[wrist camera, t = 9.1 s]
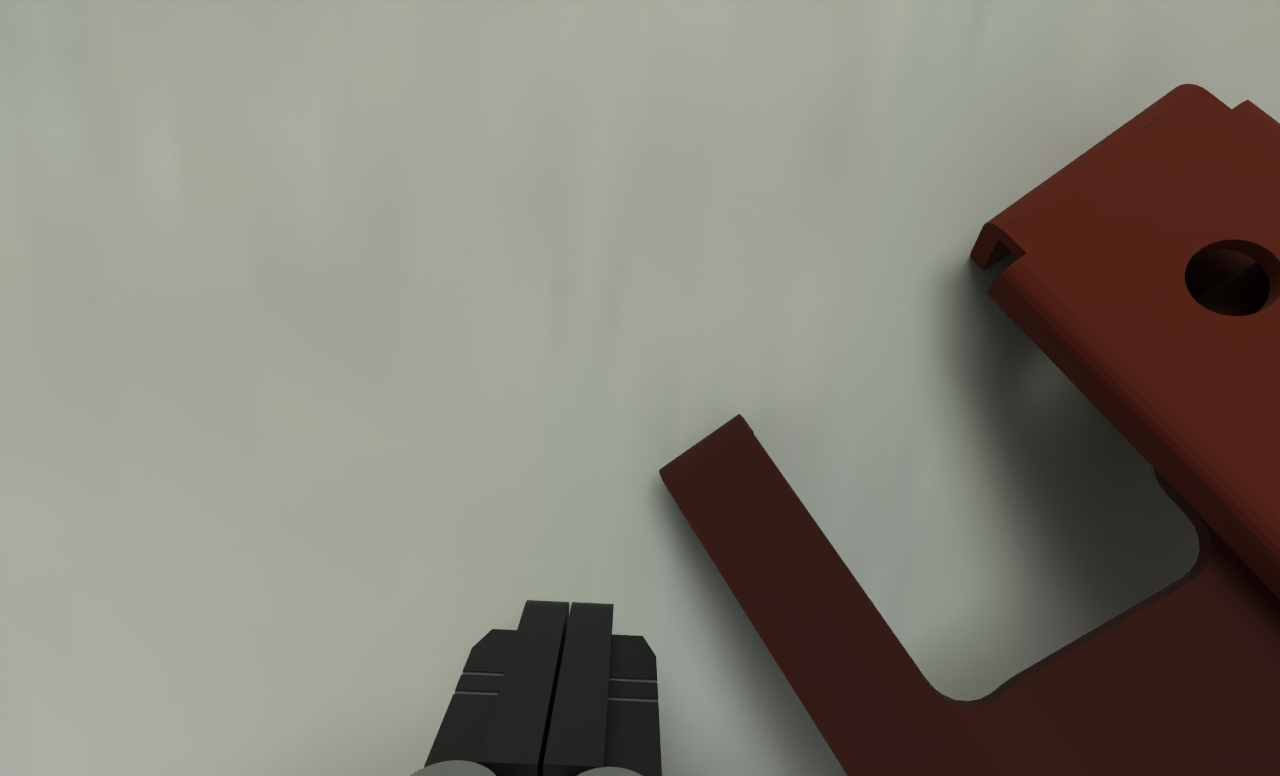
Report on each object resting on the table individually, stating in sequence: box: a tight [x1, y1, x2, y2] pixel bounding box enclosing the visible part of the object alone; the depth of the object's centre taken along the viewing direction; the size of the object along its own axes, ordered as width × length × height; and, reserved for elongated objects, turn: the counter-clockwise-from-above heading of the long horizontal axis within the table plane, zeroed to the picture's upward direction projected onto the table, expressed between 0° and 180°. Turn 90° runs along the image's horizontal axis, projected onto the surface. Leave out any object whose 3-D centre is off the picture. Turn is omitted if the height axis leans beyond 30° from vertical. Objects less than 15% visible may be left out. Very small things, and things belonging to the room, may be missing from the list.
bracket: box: [659, 84, 1280, 776], centre depth 12 cm, size 10×14×10 cm
